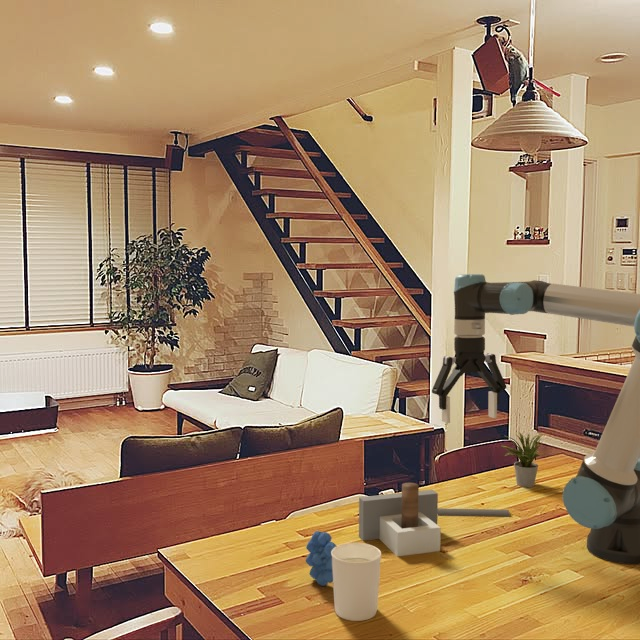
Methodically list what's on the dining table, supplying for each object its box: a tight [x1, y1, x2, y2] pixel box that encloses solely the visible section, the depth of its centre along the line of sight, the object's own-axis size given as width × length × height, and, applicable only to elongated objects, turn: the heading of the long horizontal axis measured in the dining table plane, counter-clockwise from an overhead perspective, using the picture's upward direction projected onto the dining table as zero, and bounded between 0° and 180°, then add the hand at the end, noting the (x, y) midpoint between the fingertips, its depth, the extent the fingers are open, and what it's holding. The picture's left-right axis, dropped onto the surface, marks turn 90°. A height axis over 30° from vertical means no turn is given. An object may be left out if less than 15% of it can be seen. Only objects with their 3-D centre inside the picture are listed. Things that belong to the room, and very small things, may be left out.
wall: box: [358, 489, 439, 542], centre depth 186 cm, size 3×20×10 cm, turn 107°
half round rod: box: [437, 507, 511, 518], centre depth 201 cm, size 4×20×2 cm, turn 87°
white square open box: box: [379, 512, 441, 557], centre depth 179 cm, size 11×11×6 cm
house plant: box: [500, 431, 546, 488], centre depth 227 cm, size 14×14×16 cm
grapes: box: [305, 530, 337, 587], centre depth 157 cm, size 12×7×12 cm, turn 30°
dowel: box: [401, 482, 420, 529], centre depth 179 cm, size 4×4×14 cm
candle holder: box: [331, 542, 382, 622], centre depth 146 cm, size 10×10×12 cm
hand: (469, 419), depth 187 cm, fingers open, 13 cm apart
